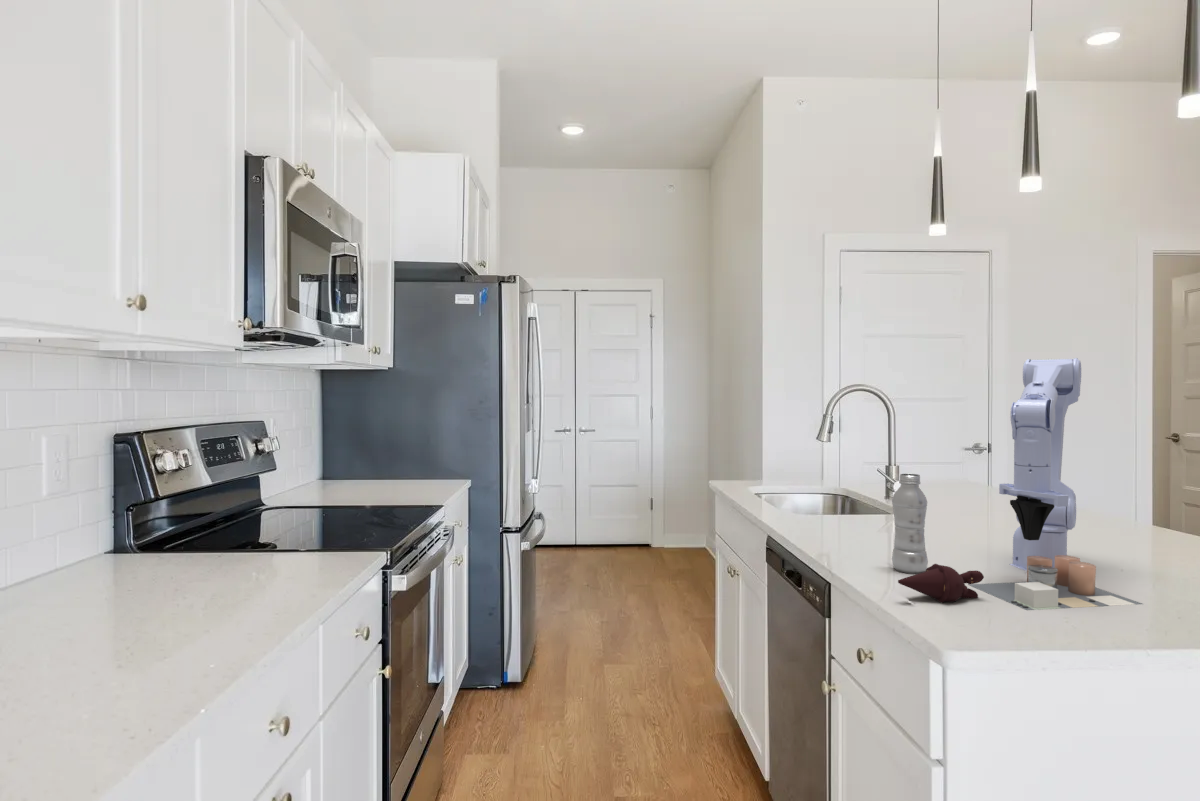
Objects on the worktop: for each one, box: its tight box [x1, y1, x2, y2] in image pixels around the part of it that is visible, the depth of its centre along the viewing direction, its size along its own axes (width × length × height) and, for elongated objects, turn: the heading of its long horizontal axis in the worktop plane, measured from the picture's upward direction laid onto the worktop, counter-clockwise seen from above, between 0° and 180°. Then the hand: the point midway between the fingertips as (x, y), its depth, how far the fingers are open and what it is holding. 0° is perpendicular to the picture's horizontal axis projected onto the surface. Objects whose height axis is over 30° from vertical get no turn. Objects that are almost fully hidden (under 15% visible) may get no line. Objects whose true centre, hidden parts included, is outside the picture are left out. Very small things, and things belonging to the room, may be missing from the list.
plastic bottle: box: [891, 473, 929, 575], centre depth 142 cm, size 6×7×20 cm
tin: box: [1028, 565, 1058, 589], centre depth 127 cm, size 5×5×4 cm
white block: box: [1015, 581, 1058, 608], centre depth 120 cm, size 4×4×3 cm
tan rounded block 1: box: [1026, 556, 1052, 582], centre depth 131 cm, size 4×4×5 cm
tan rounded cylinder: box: [1068, 561, 1097, 596], centre depth 126 cm, size 4×4×5 cm
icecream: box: [897, 563, 985, 604], centre depth 123 cm, size 7×7×15 cm
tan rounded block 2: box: [1055, 554, 1081, 587], centre depth 132 cm, size 4×4×5 cm
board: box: [967, 581, 1144, 611], centre depth 126 cm, size 15×22×1 cm
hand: (1031, 539), depth 128 cm, fingers closed
